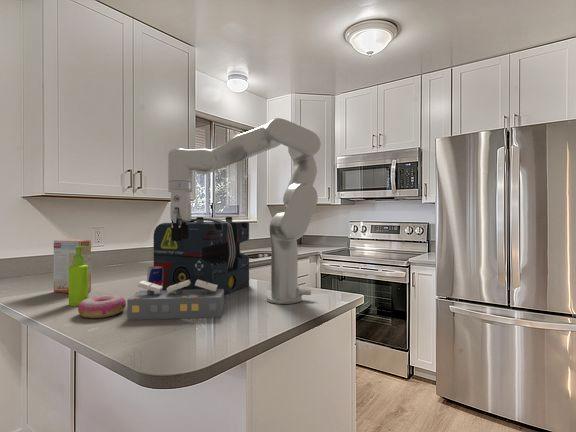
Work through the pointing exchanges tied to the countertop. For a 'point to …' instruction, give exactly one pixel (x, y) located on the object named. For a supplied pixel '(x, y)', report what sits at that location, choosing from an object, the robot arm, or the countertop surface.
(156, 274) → the energy drink
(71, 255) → the cracker box
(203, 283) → the rocker
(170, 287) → the block
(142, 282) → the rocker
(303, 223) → the robot arm
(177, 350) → the countertop surface
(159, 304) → the panel
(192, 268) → the power unit
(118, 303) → the donut
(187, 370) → the countertop surface
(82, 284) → the soap dispenser
